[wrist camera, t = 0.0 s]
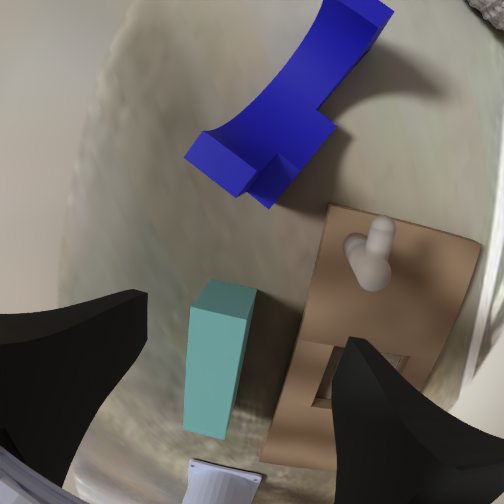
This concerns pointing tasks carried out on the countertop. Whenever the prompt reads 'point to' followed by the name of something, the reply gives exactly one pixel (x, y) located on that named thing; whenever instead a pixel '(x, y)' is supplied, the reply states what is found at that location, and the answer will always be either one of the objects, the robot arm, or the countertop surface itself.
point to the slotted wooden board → (367, 318)
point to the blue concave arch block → (290, 106)
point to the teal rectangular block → (216, 355)
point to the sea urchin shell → (491, 11)
